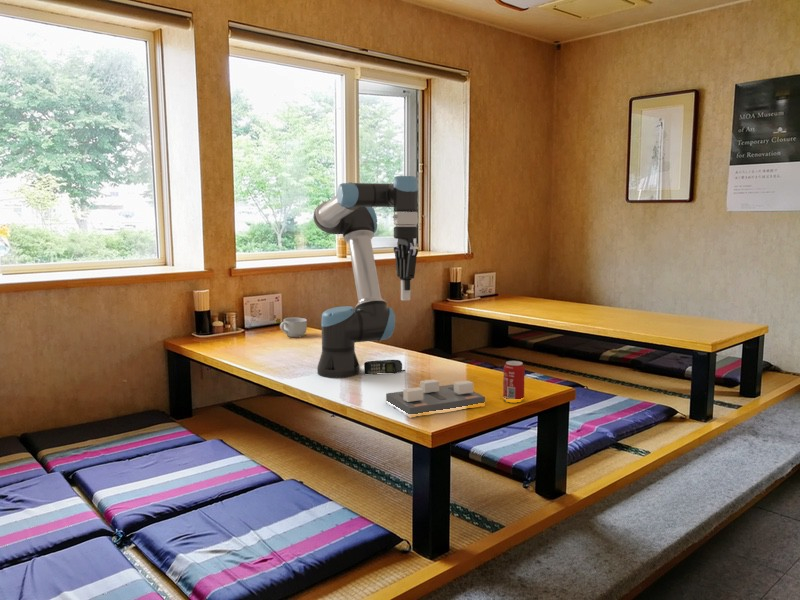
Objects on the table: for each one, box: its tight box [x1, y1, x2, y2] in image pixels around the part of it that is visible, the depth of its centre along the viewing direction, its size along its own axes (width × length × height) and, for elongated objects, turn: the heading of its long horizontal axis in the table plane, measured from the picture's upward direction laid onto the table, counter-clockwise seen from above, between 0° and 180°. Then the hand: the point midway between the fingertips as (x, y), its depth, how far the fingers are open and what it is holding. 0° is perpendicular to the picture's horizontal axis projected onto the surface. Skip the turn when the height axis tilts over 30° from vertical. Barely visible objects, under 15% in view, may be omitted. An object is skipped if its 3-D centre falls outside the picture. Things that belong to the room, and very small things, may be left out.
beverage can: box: [502, 360, 526, 399], centre depth 197 cm, size 6×6×12 cm
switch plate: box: [385, 383, 486, 414], centre depth 194 cm, size 16×25×3 cm, turn 116°
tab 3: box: [453, 380, 474, 394], centre depth 195 cm, size 3×5×3 cm, turn 116°
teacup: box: [279, 317, 308, 338], centre depth 297 cm, size 14×11×8 cm
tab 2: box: [419, 378, 440, 393], centre depth 197 cm, size 3×5×3 cm, turn 116°
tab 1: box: [402, 386, 423, 402], centre depth 188 cm, size 3×5×3 cm, turn 116°
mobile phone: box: [363, 359, 406, 375], centre depth 231 cm, size 5×3×15 cm
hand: (405, 300), depth 207 cm, fingers closed
